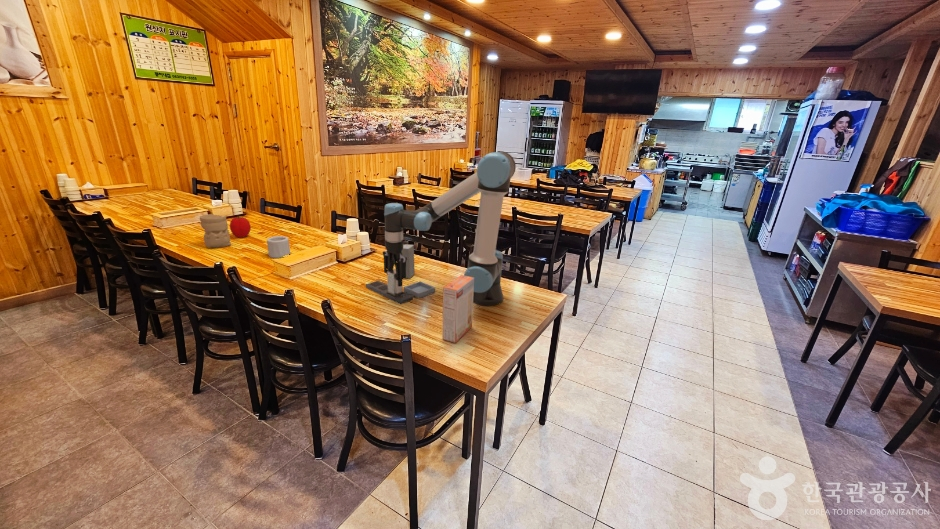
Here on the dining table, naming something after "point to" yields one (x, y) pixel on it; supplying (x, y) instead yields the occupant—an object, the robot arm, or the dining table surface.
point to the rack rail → (383, 290)
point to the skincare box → (409, 259)
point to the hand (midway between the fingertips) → (395, 290)
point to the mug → (278, 246)
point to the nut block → (392, 283)
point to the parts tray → (419, 289)
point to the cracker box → (457, 308)
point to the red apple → (240, 227)
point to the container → (215, 230)
